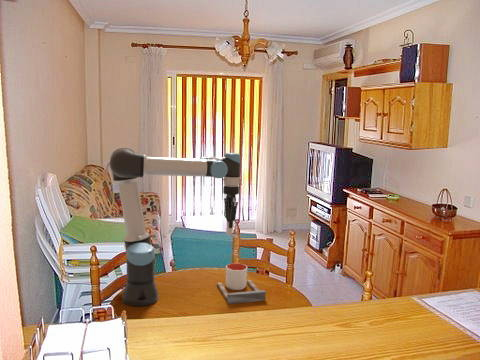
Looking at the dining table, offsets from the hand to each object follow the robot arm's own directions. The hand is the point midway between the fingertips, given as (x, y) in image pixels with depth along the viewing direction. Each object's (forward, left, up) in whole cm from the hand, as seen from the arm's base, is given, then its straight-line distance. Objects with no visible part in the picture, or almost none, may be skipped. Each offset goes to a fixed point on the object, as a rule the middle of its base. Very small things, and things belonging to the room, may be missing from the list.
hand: (229, 234), depth 199 cm
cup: (+6, -3, -24) cm, 25 cm away
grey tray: (+11, -8, -24) cm, 27 cm away
